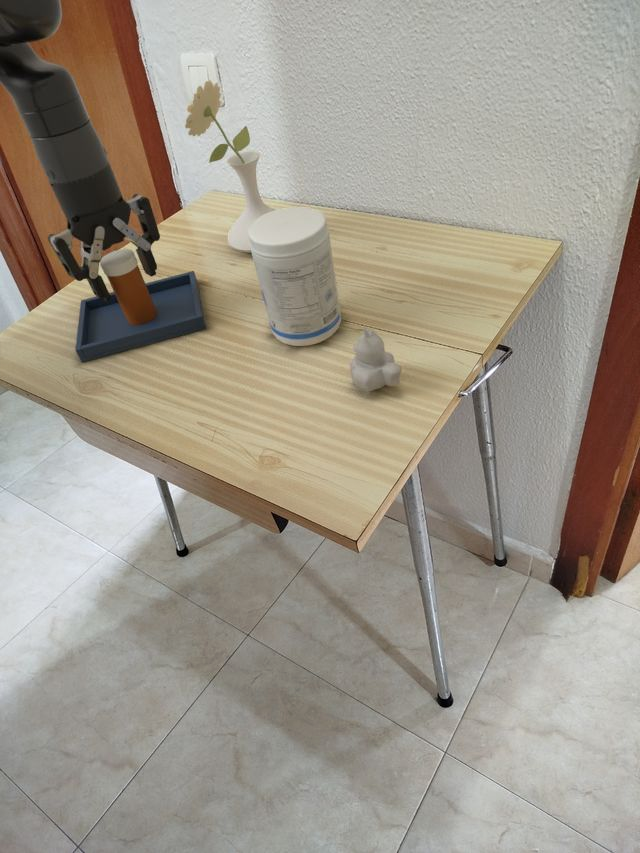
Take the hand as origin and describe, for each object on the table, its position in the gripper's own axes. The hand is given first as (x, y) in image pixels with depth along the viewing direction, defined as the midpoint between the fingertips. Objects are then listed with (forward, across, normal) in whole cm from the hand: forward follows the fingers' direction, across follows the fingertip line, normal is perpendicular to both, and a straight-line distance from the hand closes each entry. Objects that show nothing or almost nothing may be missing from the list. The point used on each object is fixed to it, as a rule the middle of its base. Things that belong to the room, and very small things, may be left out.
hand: (128, 286), depth 82 cm
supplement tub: (+6, -13, +22) cm, 26 cm away
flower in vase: (+6, -24, -2) cm, 25 cm away
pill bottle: (+5, 0, 0) cm, 5 cm away
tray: (+6, 0, 0) cm, 6 cm away
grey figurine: (+6, -9, +38) cm, 39 cm away
